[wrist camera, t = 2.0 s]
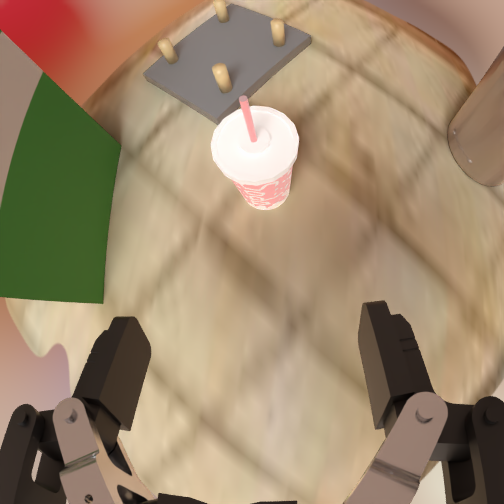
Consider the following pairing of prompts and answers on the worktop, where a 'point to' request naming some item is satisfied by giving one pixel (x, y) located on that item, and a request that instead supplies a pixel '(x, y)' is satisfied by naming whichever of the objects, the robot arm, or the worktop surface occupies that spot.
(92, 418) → the robot arm
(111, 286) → the worktop surface
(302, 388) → the worktop surface
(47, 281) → the hardback book
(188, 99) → the chassis
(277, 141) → the beverage cup
